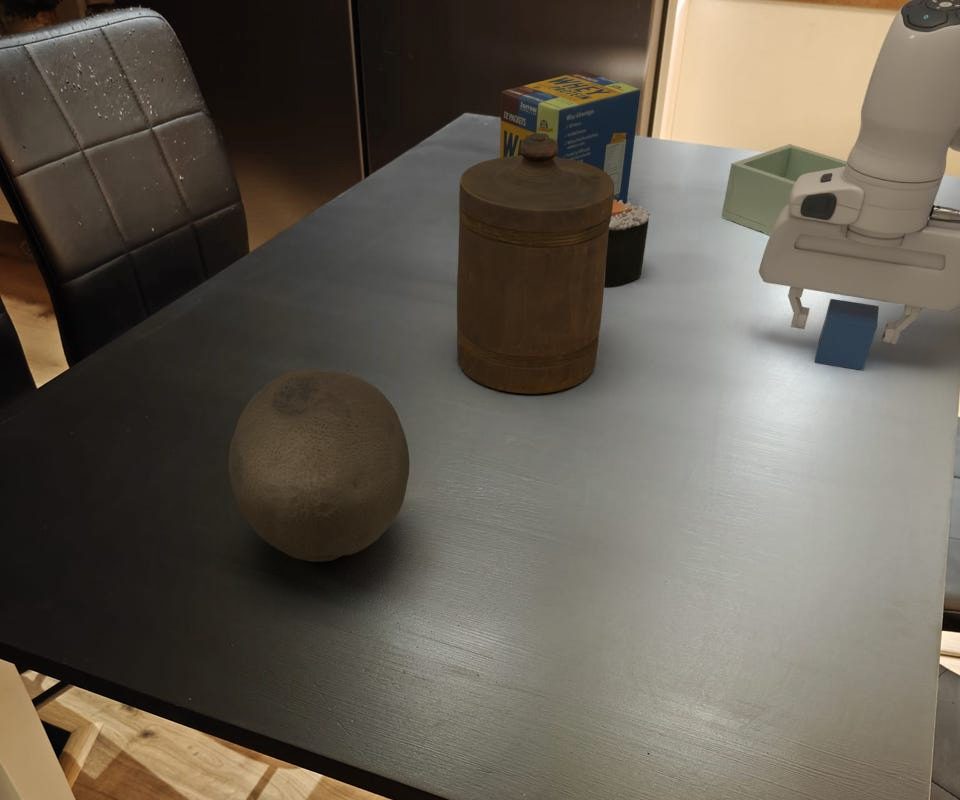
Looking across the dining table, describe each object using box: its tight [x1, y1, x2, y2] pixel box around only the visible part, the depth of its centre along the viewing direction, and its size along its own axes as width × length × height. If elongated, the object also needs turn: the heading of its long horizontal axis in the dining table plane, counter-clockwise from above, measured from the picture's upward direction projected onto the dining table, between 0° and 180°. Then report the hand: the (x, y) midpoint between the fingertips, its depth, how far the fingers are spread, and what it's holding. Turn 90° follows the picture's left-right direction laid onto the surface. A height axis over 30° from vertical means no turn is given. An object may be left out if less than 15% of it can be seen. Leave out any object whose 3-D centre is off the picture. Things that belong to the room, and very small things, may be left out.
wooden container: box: [456, 133, 614, 395], centre depth 92 cm, size 15×15×22 cm
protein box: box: [499, 70, 642, 204], centre depth 124 cm, size 10×15×16 cm
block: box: [814, 298, 880, 371], centre depth 100 cm, size 5×5×5 cm
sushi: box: [604, 199, 651, 288], centre depth 113 cm, size 8×8×8 cm
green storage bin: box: [721, 143, 847, 235], centre depth 126 cm, size 15×13×7 cm
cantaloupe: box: [228, 368, 410, 563], centre depth 71 cm, size 14×14×15 cm
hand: (842, 333), depth 100 cm, fingers open, 8 cm apart
